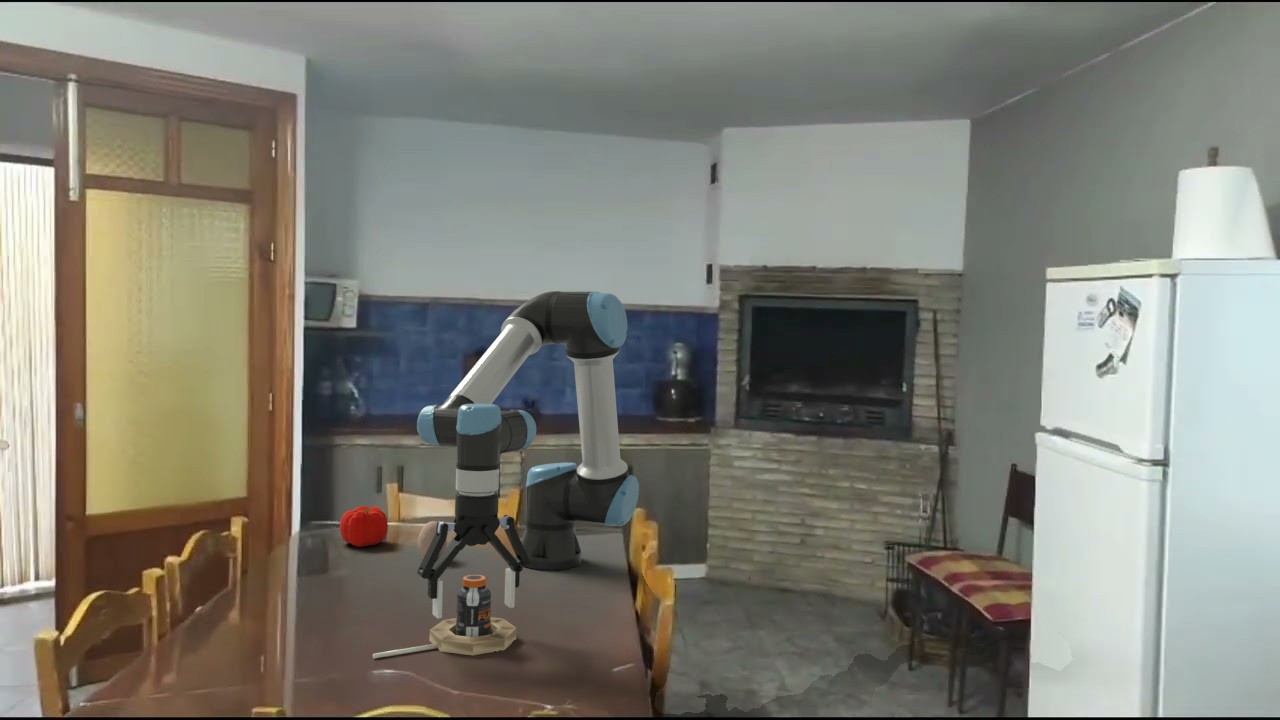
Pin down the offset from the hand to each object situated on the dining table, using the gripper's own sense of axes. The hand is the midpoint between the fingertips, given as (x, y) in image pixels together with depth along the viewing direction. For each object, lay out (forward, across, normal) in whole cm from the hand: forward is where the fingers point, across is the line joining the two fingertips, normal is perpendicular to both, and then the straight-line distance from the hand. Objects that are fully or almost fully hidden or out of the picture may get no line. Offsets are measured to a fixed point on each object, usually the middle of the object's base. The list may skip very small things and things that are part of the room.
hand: (474, 611), depth 166 cm
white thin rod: (+5, +12, +1) cm, 14 cm away
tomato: (+6, -2, -76) cm, 76 cm away
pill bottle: (+5, 0, 0) cm, 5 cm away
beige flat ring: (+5, 0, 0) cm, 5 cm away
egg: (+5, -12, -55) cm, 57 cm away
